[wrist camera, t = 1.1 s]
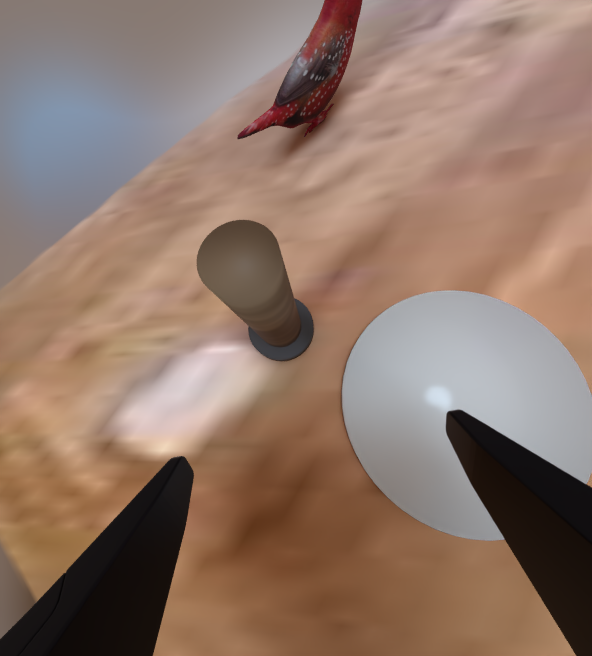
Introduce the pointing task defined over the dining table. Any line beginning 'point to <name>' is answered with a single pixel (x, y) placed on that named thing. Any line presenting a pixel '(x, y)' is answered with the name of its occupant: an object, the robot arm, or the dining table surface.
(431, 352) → the white smooth round part
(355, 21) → the decorative bird figurine
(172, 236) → the dining table surface
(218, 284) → the brown tapered knob
